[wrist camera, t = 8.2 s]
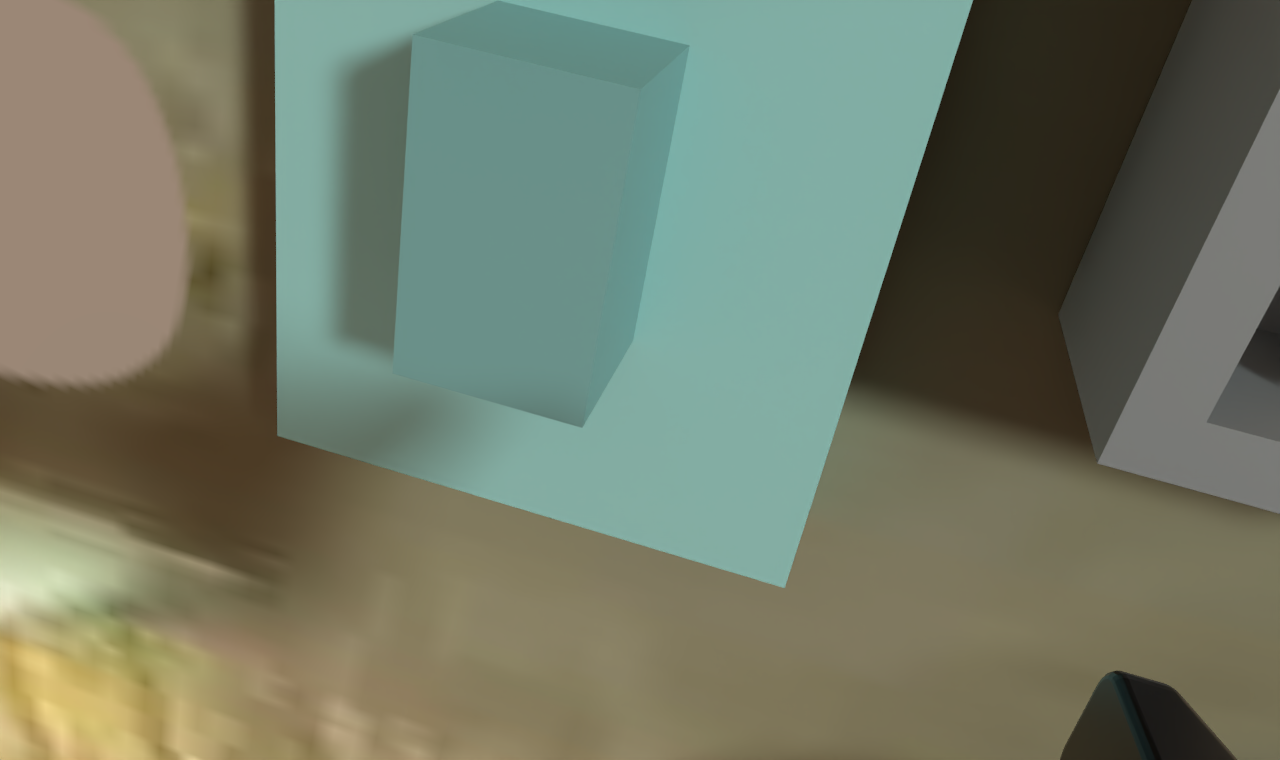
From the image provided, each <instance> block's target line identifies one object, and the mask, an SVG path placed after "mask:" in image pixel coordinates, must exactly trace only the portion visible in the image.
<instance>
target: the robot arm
mask: <svg viewBox="0 0 1280 760" xmlns="http://www.w3.org/2000/svg"><path fill="white" fill-rule="evenodd" d="M1060 760H1237V759H1236V758H1235V756H1234V755H1233V754H1232V753H1231V752H1230V751H1229V750H1228V748H1227V747H1226V746H1225V745H1224V744H1223V743H1222V742H1221V740H1220V739H1219V738H1218V737H1217V736H1216V735H1215V734H1214V732H1213V731H1212V730H1211V729H1210V728H1209V727H1208V726H1207V724H1206V723H1205V722H1204V721H1203V720H1202V719H1201V718H1200V716H1199V715H1198V714H1197V713H1196V712H1195V711H1194V710H1193V708H1192V707H1191V706H1190V705H1189V704H1188V703H1187V702H1186V700H1185V699H1184V698H1183V697H1182V696H1181V695H1180V694H1179V693H1178V692H1177V691H1176V690H1175V689H1174V688H1172V687H1171V686H1169V685H1167V684H1164V683H1161V682H1157V681H1154V680H1150V679H1147V678H1143V677H1140V676H1137V675H1133V674H1130V673H1126V672H1123V671H1114V672H1110V673H1107V674H1106V675H1105V676H1104V677H1103V678H1102V679H1101V680H1100V682H1099V683H1098V685H1097V687H1096V689H1095V690H1094V692H1093V694H1092V696H1091V698H1090V700H1089V702H1088V704H1087V705H1086V707H1085V709H1084V711H1083V713H1082V715H1081V717H1080V719H1079V721H1078V722H1077V724H1076V726H1075V728H1074V730H1073V732H1072V734H1071V736H1070V738H1069V739H1068V741H1067V743H1066V745H1065V747H1064V749H1063V752H1062V755H1061V758H1060Z"/></svg>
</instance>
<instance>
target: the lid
mask: <svg viewBox="0 0 1280 760" xmlns="http://www.w3.org/2000/svg"><path fill="white" fill-rule="evenodd" d="M972 2H973V0H275V146H276V306H277V436H279V437H283V438H286V439H289V440H293V441H296V442H299V443H303V444H306V445H309V446H313V447H316V448H319V449H323V450H326V451H329V452H333V453H336V454H339V455H343V456H346V457H349V458H353V459H356V460H359V461H363V462H366V463H369V464H373V465H376V466H379V467H383V468H386V469H389V470H393V471H396V472H399V473H403V474H406V475H409V476H413V477H416V478H419V479H423V480H426V481H429V482H433V483H436V484H439V485H443V486H446V487H449V488H453V489H456V490H459V491H463V492H466V493H469V494H473V495H476V496H479V497H483V498H486V499H489V500H493V501H496V502H499V503H503V504H506V505H509V506H513V507H516V508H519V509H523V510H526V511H529V512H533V513H536V514H539V515H543V516H546V517H549V518H553V519H556V520H559V521H563V522H566V523H570V524H573V525H576V526H580V527H583V528H586V529H590V530H593V531H596V532H600V533H603V534H606V535H610V536H613V537H616V538H620V539H623V540H626V541H630V542H633V543H636V544H640V545H643V546H646V547H650V548H653V549H656V550H660V551H663V552H666V553H670V554H673V555H676V556H680V557H683V558H686V559H690V560H693V561H696V562H700V563H703V564H706V565H710V566H713V567H716V568H720V569H723V570H726V571H730V572H733V573H736V574H740V575H743V576H746V577H750V578H753V579H756V580H760V581H763V582H766V583H770V584H773V585H776V586H780V587H783V588H785V585H786V582H787V579H788V576H789V573H790V570H791V566H792V563H793V560H794V557H795V554H796V551H797V548H798V545H799V542H800V538H801V535H802V532H803V529H804V526H805V523H806V520H807V517H808V513H809V510H810V507H811V504H812V501H813V498H814V495H815V492H816V489H817V485H818V482H819V479H820V476H821V473H822V470H823V467H824V464H825V460H826V457H827V454H828V451H829V448H830V445H831V442H832V439H833V436H834V432H835V429H836V426H837V423H838V420H839V417H840V414H841V411H842V407H843V404H844V401H845V398H846V395H847V392H848V389H849V386H850V383H851V379H852V376H853V373H854V370H855V367H856V364H857V361H858V358H859V354H860V351H861V348H862V345H863V342H864V339H865V336H866V333H867V329H868V326H869V323H870V320H871V317H872V314H873V311H874V308H875V305H876V301H877V298H878V295H879V292H880V289H881V286H882V283H883V280H884V276H885V273H886V270H887V267H888V264H889V261H890V258H891V255H892V252H893V248H894V245H895V242H896V239H897V236H898V233H899V230H900V227H901V223H902V220H903V217H904V214H905V211H906V208H907V205H908V202H909V199H910V195H911V192H912V189H913V186H914V183H915V180H916V177H917V174H918V170H919V167H920V164H921V161H922V158H923V155H924V152H925V149H926V146H927V142H928V139H929V136H930V133H931V130H932V127H933V124H934V121H935V117H936V114H937V111H938V108H939V105H940V102H941V99H942V96H943V92H944V89H945V86H946V83H947V80H948V77H949V74H950V71H951V68H952V64H953V61H954V58H955V55H956V52H957V49H958V46H959V43H960V39H961V36H962V33H963V30H964V27H965V24H966V21H967V18H968V15H969V11H970V8H971V5H972Z"/></svg>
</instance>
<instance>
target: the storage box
mask: <svg viewBox="0 0 1280 760" xmlns="http://www.w3.org/2000/svg"><path fill="white" fill-rule="evenodd" d="M1058 316H1059V320H1060V323H1061V327H1062V331H1063V335H1064V339H1065V343H1066V346H1067V350H1068V354H1069V358H1070V362H1071V365H1072V369H1073V373H1074V377H1075V381H1076V384H1077V388H1078V392H1079V396H1080V400H1081V404H1082V407H1083V411H1084V415H1085V419H1086V423H1087V426H1088V430H1089V434H1090V438H1091V442H1092V445H1093V449H1094V453H1095V457H1096V461H1097V463H1098V464H1101V465H1105V466H1108V467H1112V468H1116V469H1119V470H1123V471H1127V472H1130V473H1134V474H1137V475H1141V476H1145V477H1148V478H1152V479H1156V480H1159V481H1163V482H1166V483H1170V484H1174V485H1177V486H1181V487H1185V488H1188V489H1192V490H1195V491H1199V492H1203V493H1206V494H1210V495H1214V496H1217V497H1221V498H1224V499H1228V500H1232V501H1235V502H1239V503H1243V504H1246V505H1250V506H1254V507H1257V508H1261V509H1264V510H1268V511H1272V512H1275V513H1279V514H1280V0H1192V1H1191V4H1190V6H1189V8H1188V11H1187V13H1186V16H1185V18H1184V20H1183V23H1182V25H1181V27H1180V30H1179V32H1178V34H1177V37H1176V39H1175V41H1174V44H1173V46H1172V48H1171V51H1170V53H1169V55H1168V58H1167V60H1166V62H1165V65H1164V67H1163V70H1162V72H1161V74H1160V77H1159V79H1158V81H1157V84H1156V86H1155V88H1154V91H1153V93H1152V95H1151V98H1150V100H1149V102H1148V105H1147V107H1146V109H1145V112H1144V114H1143V116H1142V119H1141V121H1140V123H1139V126H1138V128H1137V131H1136V133H1135V135H1134V138H1133V140H1132V142H1131V145H1130V147H1129V149H1128V152H1127V154H1126V156H1125V159H1124V161H1123V163H1122V166H1121V168H1120V170H1119V173H1118V175H1117V177H1116V180H1115V182H1114V184H1113V187H1112V189H1111V192H1110V194H1109V196H1108V199H1107V201H1106V203H1105V206H1104V208H1103V210H1102V213H1101V215H1100V217H1099V220H1098V222H1097V224H1096V227H1095V229H1094V231H1093V234H1092V236H1091V238H1090V241H1089V243H1088V246H1087V248H1086V250H1085V253H1084V255H1083V257H1082V260H1081V262H1080V264H1079V267H1078V269H1077V271H1076V274H1075V276H1074V278H1073V281H1072V283H1071V285H1070V288H1069V290H1068V292H1067V295H1066V297H1065V299H1064V302H1063V304H1062V307H1061V309H1060V311H1059V314H1058Z"/></svg>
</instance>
